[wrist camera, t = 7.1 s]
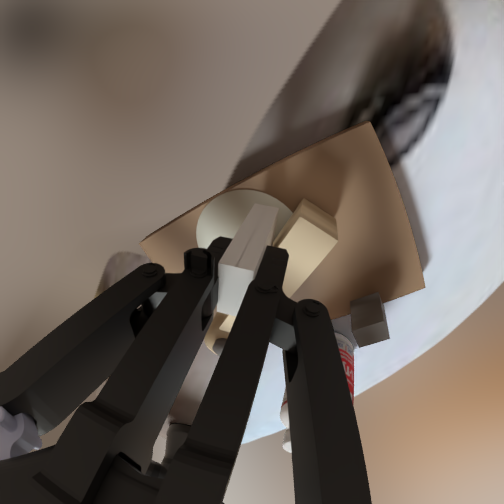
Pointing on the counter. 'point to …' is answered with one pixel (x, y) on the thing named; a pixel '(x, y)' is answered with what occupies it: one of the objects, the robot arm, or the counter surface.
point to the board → (335, 204)
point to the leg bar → (299, 263)
